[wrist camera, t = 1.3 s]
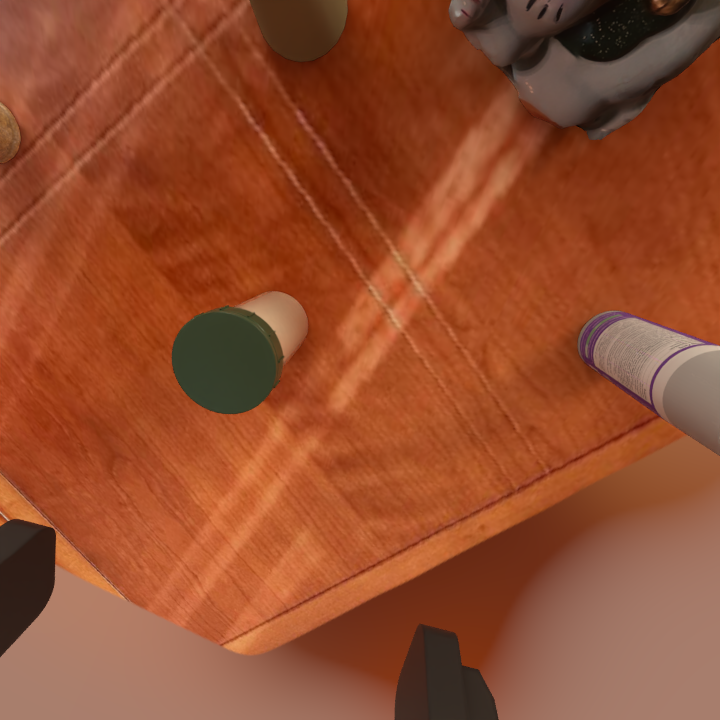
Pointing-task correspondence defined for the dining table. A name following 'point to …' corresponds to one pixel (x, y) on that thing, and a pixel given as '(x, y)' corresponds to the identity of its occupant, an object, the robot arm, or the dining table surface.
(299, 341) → the jar
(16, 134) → the sprinkles bottle
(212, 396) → the lid
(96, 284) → the dining table surface
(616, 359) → the container
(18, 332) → the dining table surface
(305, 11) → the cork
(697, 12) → the lucky cat figurine
